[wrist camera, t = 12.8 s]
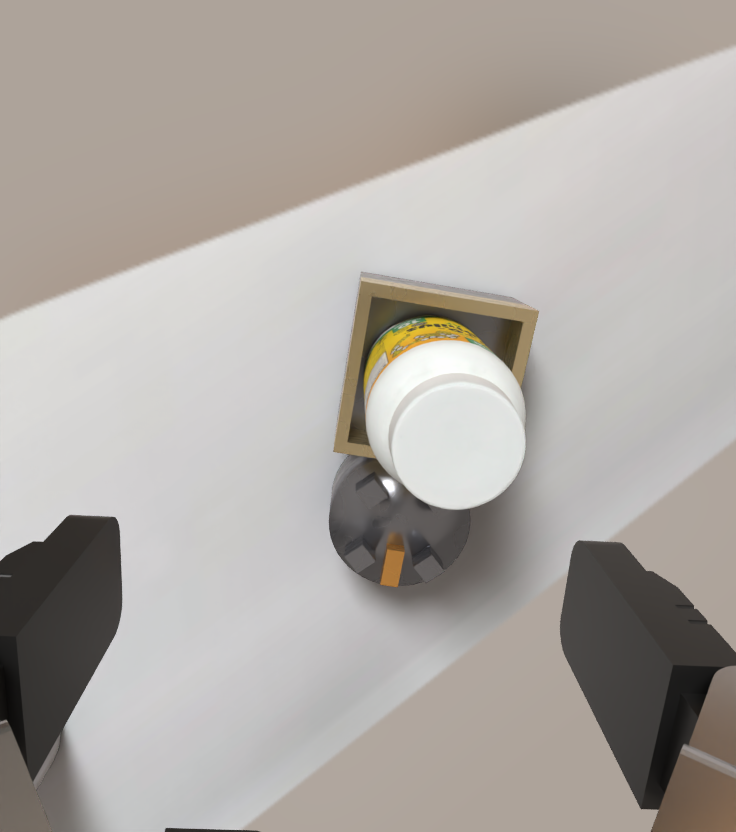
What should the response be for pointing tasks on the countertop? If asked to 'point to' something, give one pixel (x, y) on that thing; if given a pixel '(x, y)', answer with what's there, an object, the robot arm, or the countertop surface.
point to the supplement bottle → (443, 413)
